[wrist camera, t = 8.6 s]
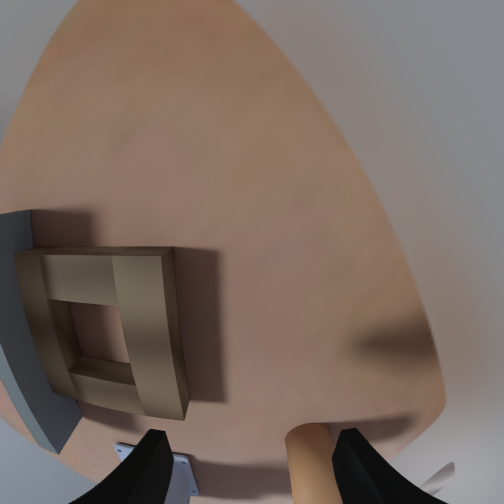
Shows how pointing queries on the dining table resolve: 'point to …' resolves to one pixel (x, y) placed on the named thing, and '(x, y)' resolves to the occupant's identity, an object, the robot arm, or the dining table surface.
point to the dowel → (312, 465)
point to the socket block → (132, 318)
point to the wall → (27, 349)
